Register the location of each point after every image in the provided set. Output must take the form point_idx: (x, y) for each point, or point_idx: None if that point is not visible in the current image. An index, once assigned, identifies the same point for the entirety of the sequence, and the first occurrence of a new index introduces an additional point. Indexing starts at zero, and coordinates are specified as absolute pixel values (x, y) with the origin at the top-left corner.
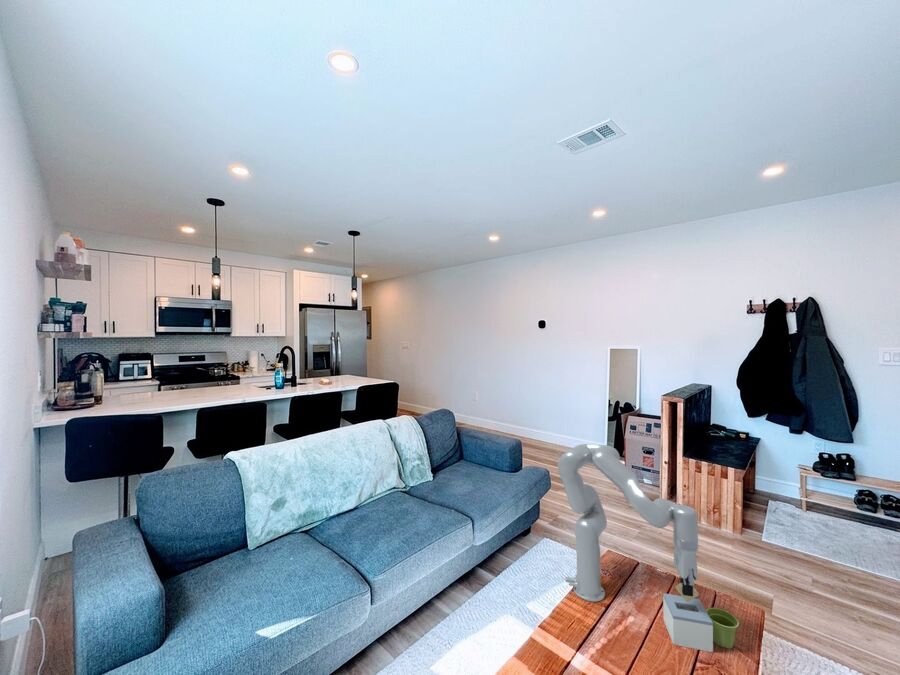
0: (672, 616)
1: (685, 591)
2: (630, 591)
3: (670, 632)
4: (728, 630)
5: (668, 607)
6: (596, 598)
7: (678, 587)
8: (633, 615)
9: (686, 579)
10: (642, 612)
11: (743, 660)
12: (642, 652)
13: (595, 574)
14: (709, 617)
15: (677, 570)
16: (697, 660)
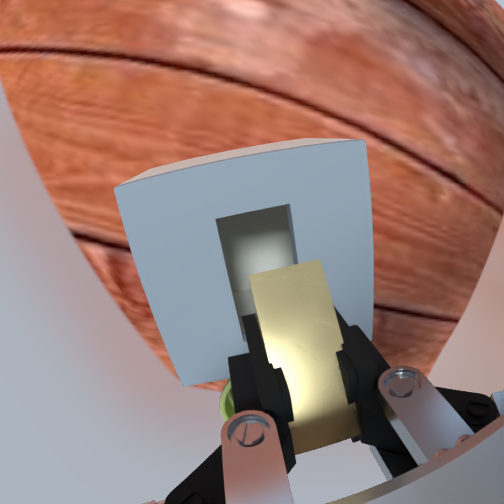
0: (134, 180)
1: (247, 358)
2: (422, 41)
3: (192, 159)
4: (228, 402)
5: (229, 158)
6: None
7: (278, 303)
8: (272, 17)
9: (360, 430)
10: (313, 55)
11: None
12: (57, 63)
13: None
14: (222, 378)
15: (399, 501)
16: (112, 250)
